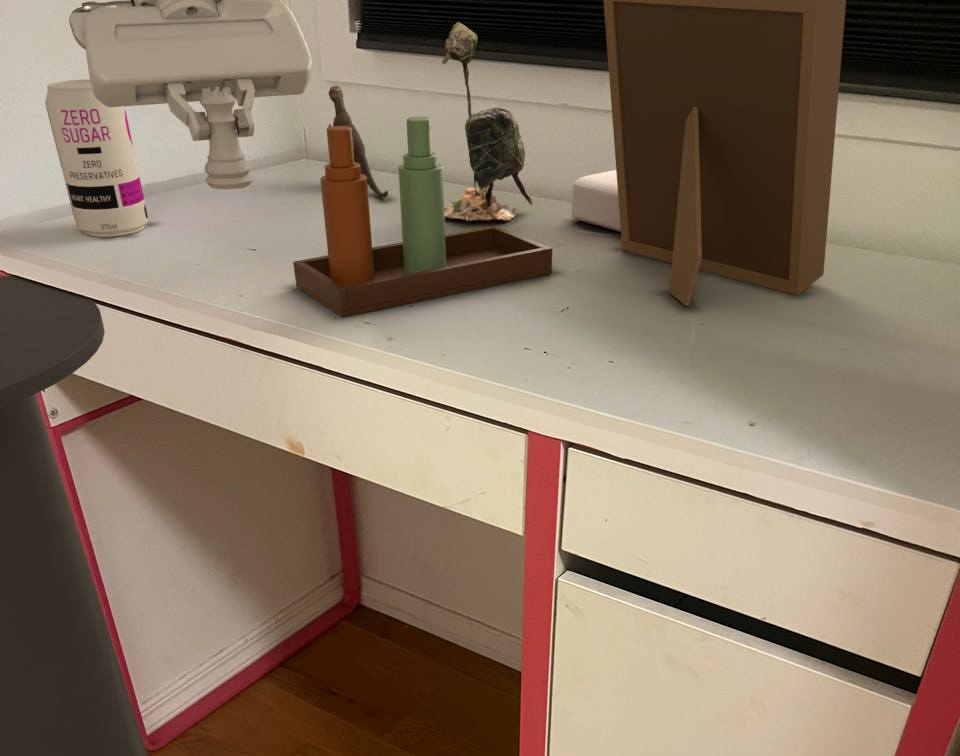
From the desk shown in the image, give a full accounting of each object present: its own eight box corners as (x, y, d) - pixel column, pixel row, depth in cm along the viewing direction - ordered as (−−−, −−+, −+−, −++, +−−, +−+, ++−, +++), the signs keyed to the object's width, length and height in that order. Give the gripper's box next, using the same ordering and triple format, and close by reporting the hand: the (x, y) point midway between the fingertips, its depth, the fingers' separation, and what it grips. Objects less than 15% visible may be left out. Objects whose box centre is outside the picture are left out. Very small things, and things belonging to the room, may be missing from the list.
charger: (666, 248, 104) (571, 222, 113) (720, 233, 109) (625, 208, 118) (671, 202, 101) (572, 178, 110) (727, 188, 106) (628, 166, 115)
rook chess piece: (221, 192, 88) (206, 93, 84) (197, 184, 91) (181, 88, 86) (262, 185, 91) (250, 89, 86) (238, 177, 93) (224, 83, 89)
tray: (342, 317, 88) (339, 289, 86) (296, 287, 95) (292, 261, 93) (551, 273, 97) (552, 248, 96) (495, 249, 105) (495, 225, 103)
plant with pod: (505, 233, 110) (506, 27, 98) (428, 218, 115) (420, 22, 103) (544, 217, 115) (550, 20, 103) (469, 204, 120) (466, 16, 108)
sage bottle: (417, 284, 93) (409, 124, 85) (397, 273, 96) (387, 117, 88) (454, 277, 95) (449, 119, 87) (433, 266, 98) (427, 113, 90)
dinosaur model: (337, 81, 125) (401, 102, 116) (346, 177, 133) (407, 204, 124) (310, 86, 123) (373, 108, 114) (321, 183, 131) (381, 210, 122)
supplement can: (134, 216, 118) (103, 76, 109) (160, 230, 112) (131, 84, 103) (68, 227, 114) (30, 83, 105) (92, 242, 109) (55, 92, 99)
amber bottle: (343, 299, 90) (327, 134, 82) (324, 287, 93) (307, 126, 84) (382, 291, 92) (371, 128, 83) (363, 280, 95) (350, 121, 86)
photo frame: (647, 242, 106) (671, -33, 91) (821, 285, 93) (883, -26, 78) (555, 270, 98) (565, -25, 83) (732, 322, 85) (782, -17, 70)
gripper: (60, -26, 82) (106, 119, 81) (288, -30, 90) (334, 102, 89) (66, 31, 88) (109, 167, 87) (280, 23, 96) (322, 147, 94)
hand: (224, 134), depth 88 cm, fingers closed on rook chess piece, 3 cm apart
